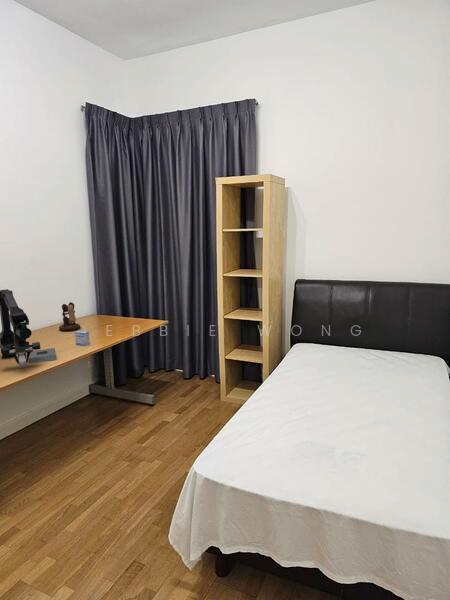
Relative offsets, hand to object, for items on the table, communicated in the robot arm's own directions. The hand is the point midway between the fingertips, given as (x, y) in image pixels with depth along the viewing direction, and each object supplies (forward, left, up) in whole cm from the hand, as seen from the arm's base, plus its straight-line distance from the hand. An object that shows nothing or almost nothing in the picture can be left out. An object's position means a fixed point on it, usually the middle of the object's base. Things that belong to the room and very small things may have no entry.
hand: (22, 363), depth 211 cm
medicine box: (+34, +29, -3) cm, 45 cm away
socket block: (+10, +12, -2) cm, 16 cm away
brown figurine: (+30, +74, -3) cm, 80 cm away
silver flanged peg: (0, 0, -2) cm, 2 cm away
